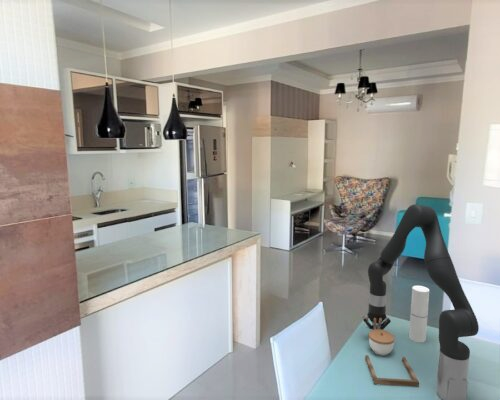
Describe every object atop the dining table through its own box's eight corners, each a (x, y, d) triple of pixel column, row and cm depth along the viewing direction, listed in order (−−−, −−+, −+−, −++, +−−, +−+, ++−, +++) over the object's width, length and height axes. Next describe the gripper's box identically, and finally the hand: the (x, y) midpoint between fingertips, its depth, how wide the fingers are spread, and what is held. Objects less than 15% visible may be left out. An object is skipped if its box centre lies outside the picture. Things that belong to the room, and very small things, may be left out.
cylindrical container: (408, 340, 162) (411, 290, 158) (409, 332, 169) (412, 284, 165) (425, 344, 159) (429, 293, 155) (425, 336, 165) (429, 287, 161)
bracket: (365, 359, 149) (365, 354, 148) (404, 361, 147) (404, 356, 147) (374, 384, 133) (374, 379, 133) (418, 386, 132) (419, 382, 131)
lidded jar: (363, 350, 155) (364, 331, 153) (376, 341, 162) (377, 323, 160) (385, 361, 147) (386, 341, 145) (398, 352, 153) (399, 332, 152)
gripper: (364, 305, 157) (363, 340, 160) (394, 306, 156) (392, 341, 159) (361, 298, 165) (359, 331, 168) (389, 299, 163) (387, 333, 166)
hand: (375, 336), depth 163 cm, fingers closed
